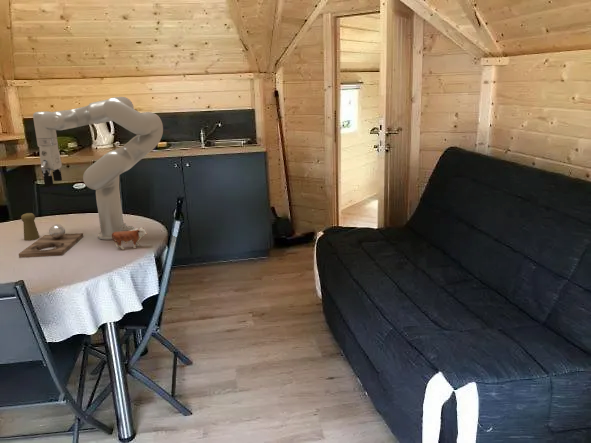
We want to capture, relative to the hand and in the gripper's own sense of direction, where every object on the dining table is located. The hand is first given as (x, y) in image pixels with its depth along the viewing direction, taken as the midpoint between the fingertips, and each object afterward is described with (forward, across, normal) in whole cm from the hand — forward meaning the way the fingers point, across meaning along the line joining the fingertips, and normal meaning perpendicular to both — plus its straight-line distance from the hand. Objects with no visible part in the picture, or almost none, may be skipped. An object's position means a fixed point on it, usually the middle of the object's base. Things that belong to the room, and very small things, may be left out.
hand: (53, 183), depth 206 cm
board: (+24, -14, -2) cm, 27 cm away
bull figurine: (+23, -22, -34) cm, 47 cm away
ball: (+19, -8, -2) cm, 21 cm away
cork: (+24, -1, +12) cm, 27 cm away
